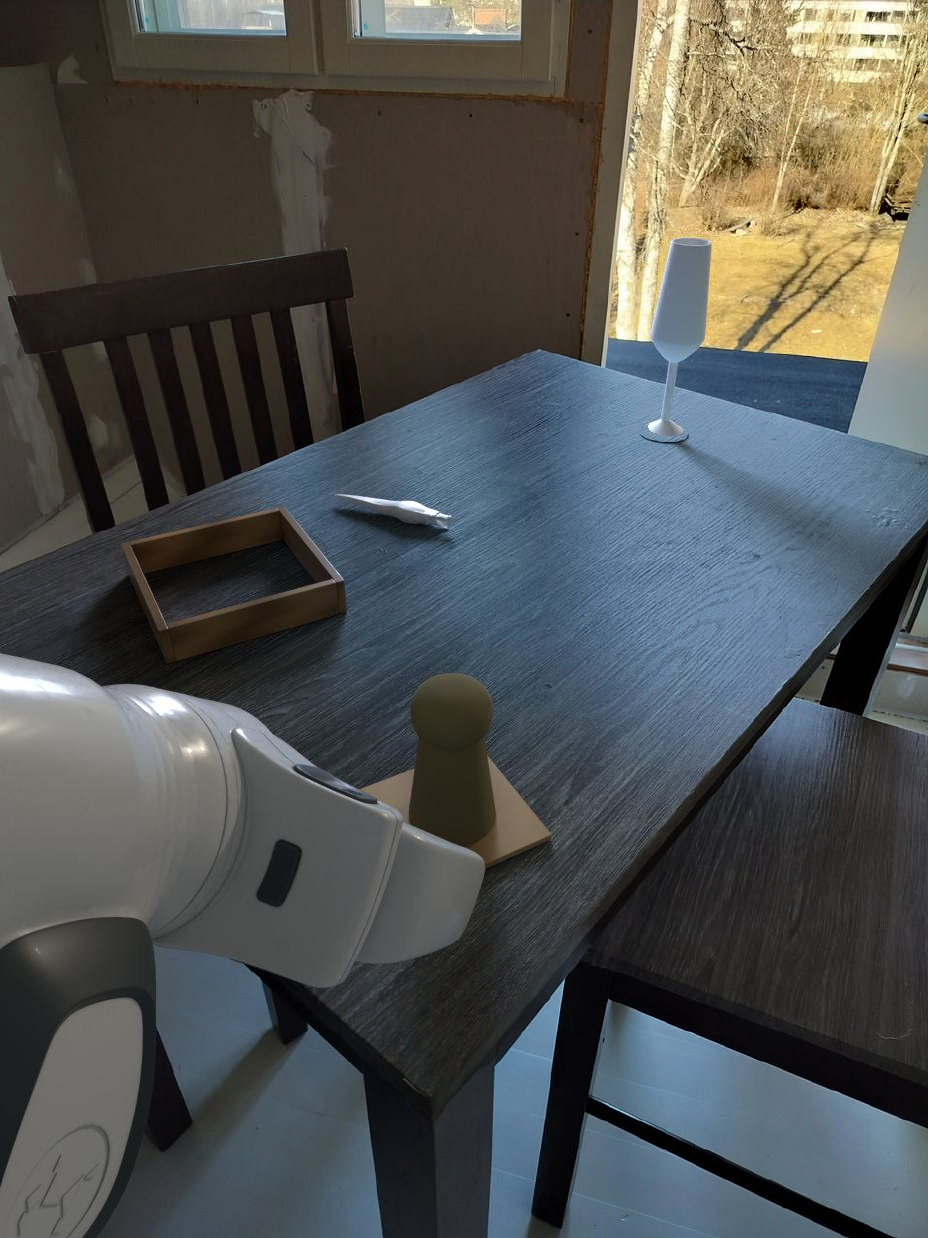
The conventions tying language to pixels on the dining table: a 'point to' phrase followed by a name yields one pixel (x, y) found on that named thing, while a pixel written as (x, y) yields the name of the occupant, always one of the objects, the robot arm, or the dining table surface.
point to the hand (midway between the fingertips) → (339, 816)
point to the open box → (241, 618)
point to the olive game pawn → (452, 759)
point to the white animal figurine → (400, 510)
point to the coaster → (512, 821)
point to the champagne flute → (680, 315)
